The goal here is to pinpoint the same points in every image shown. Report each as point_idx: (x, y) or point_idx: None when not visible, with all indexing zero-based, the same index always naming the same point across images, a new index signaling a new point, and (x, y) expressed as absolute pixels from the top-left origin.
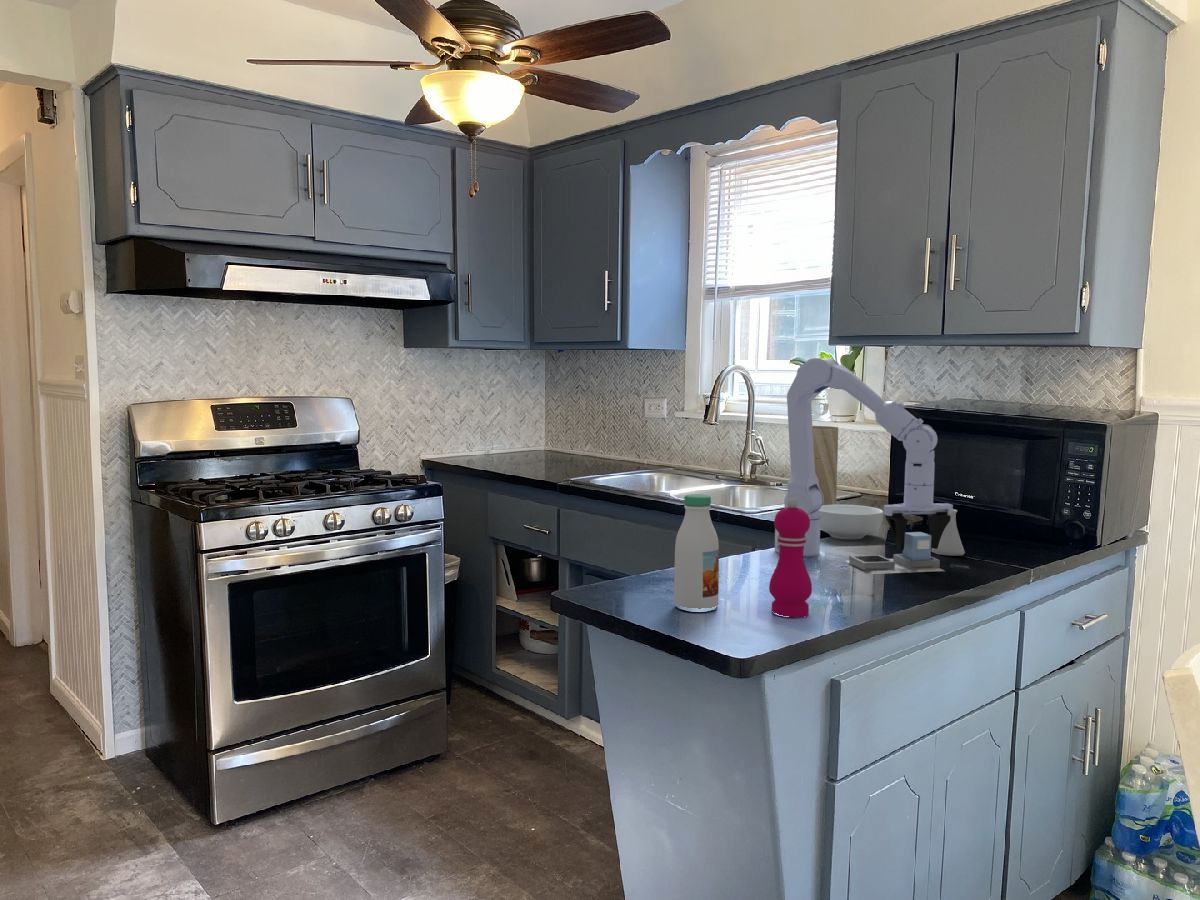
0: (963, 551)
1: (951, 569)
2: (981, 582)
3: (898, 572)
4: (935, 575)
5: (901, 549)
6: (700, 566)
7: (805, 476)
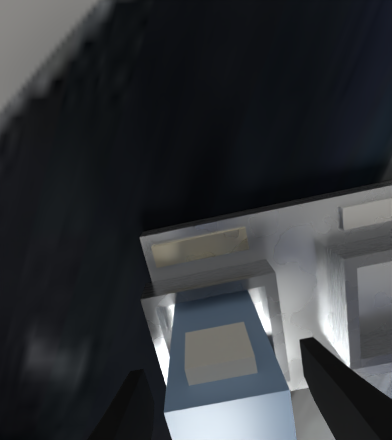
0: None
1: (93, 318)
2: (32, 131)
3: (332, 200)
4: None
5: (312, 338)
6: None
7: None
